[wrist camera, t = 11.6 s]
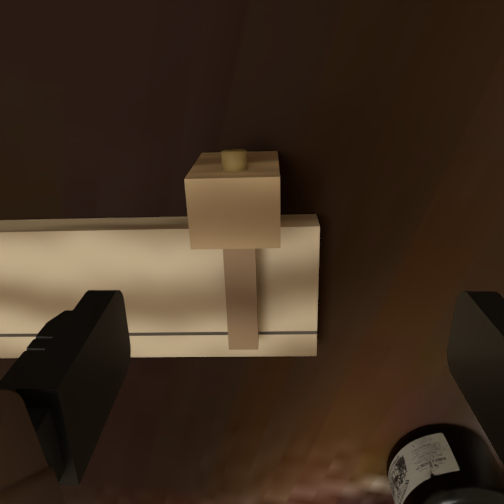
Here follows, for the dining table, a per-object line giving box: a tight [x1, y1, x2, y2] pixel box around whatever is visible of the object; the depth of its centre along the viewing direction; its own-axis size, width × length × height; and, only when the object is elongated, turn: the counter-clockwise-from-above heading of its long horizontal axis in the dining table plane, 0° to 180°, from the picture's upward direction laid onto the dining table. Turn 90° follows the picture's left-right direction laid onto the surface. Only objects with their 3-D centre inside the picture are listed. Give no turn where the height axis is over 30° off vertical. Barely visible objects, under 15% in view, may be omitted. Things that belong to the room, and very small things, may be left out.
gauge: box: [184, 149, 281, 350], centre depth 29 cm, size 14×5×7 cm, turn 2°
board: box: [0, 214, 320, 358], centre depth 33 cm, size 10×28×2 cm, turn 92°
